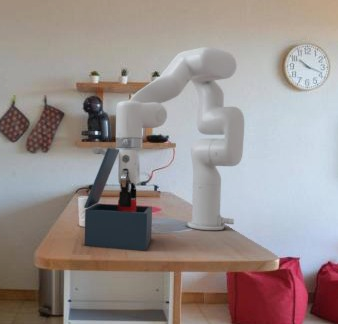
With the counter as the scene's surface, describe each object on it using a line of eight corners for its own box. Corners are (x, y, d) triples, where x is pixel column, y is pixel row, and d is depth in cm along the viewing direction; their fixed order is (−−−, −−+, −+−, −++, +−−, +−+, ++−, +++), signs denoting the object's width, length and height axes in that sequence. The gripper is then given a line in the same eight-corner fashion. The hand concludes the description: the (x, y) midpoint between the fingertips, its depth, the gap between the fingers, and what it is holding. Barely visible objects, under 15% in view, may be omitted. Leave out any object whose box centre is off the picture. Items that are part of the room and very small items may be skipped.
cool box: (151, 239, 117) (152, 206, 117) (145, 250, 103) (146, 213, 103) (96, 235, 121) (97, 203, 121) (84, 245, 108) (85, 209, 107)
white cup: (97, 228, 133) (98, 199, 132) (75, 226, 134) (75, 198, 134) (101, 224, 140) (102, 196, 140) (80, 222, 142) (80, 195, 142)
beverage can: (123, 242, 108) (124, 199, 108) (113, 238, 113) (114, 197, 113) (138, 240, 111) (140, 198, 110) (128, 237, 115) (129, 196, 115)
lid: (119, 149, 119) (103, 142, 120) (110, 148, 105) (91, 141, 106) (98, 202, 121) (82, 195, 122) (86, 208, 107) (68, 200, 109)
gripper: (137, 144, 102) (136, 209, 102) (145, 145, 118) (144, 201, 119) (109, 144, 104) (109, 208, 104) (121, 145, 120) (120, 199, 121)
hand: (128, 204), depth 112 cm, fingers open, 9 cm apart
